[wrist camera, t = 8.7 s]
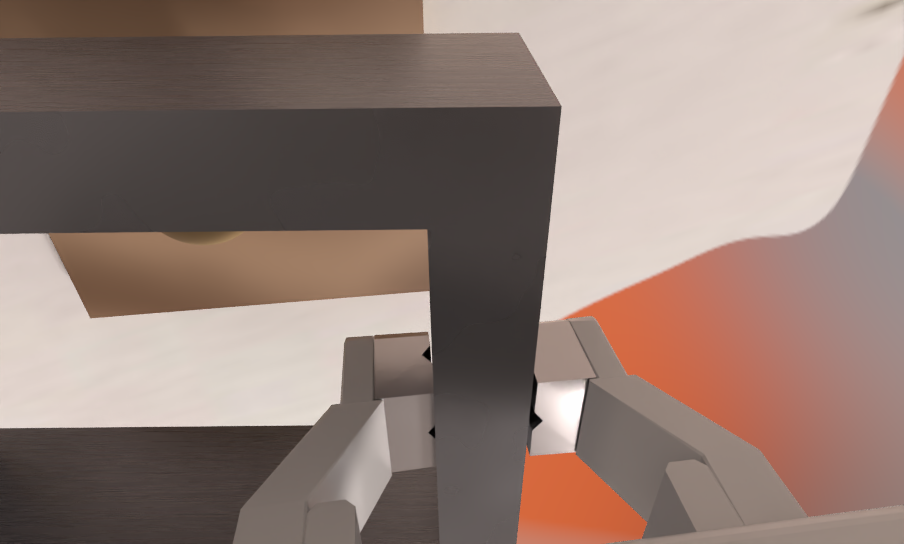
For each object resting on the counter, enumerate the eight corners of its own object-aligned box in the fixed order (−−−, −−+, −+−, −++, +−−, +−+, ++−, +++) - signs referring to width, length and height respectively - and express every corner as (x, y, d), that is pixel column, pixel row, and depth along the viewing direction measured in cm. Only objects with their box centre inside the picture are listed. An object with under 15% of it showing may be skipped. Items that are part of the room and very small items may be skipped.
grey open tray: (-391, 42, 9) (-905, 121, 5) (518, 32, 9) (561, 107, 5) (-45, 463, 15) (-189, 623, 11) (495, 458, 15) (508, 617, 11)
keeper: (-78, -99, 15) (-322, -101, 10) (415, -102, 17) (437, -106, 11) (105, 296, 23) (24, 415, 18) (429, 271, 25) (446, 374, 19)
